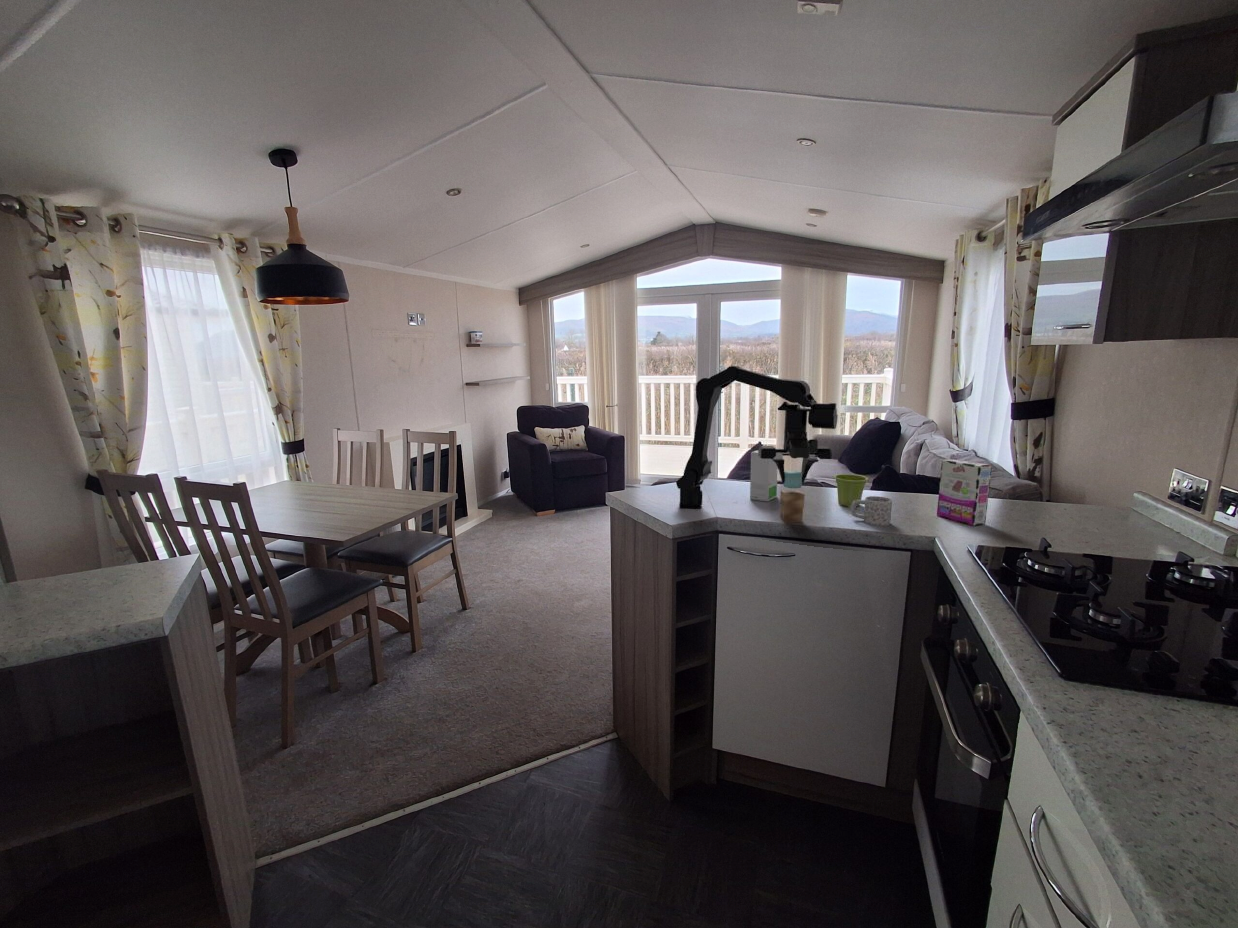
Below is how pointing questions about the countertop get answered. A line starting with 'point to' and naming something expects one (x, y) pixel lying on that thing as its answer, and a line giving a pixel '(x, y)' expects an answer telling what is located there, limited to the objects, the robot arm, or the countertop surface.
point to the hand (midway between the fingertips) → (792, 482)
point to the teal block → (793, 479)
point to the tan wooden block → (792, 499)
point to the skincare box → (763, 478)
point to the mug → (874, 510)
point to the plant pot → (849, 488)
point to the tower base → (791, 514)
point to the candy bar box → (964, 491)
